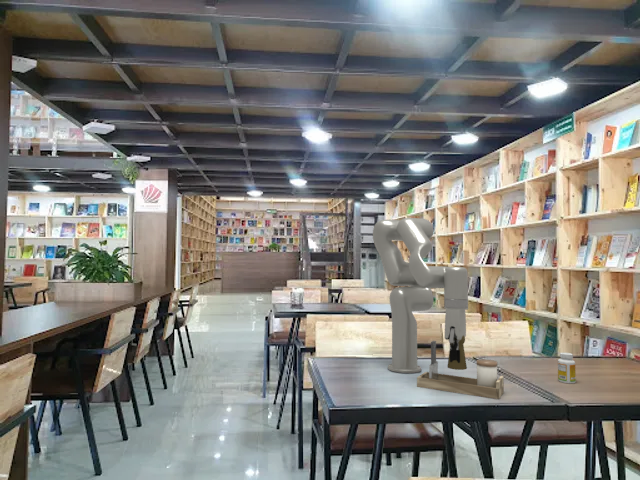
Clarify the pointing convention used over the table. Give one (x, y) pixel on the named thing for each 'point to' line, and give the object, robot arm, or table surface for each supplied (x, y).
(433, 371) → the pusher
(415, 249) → the robot arm
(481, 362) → the jar
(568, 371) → the supplement bottle
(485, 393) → the wooden tray
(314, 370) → the table surface
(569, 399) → the table surface
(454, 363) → the olive brown waisted cylinder
